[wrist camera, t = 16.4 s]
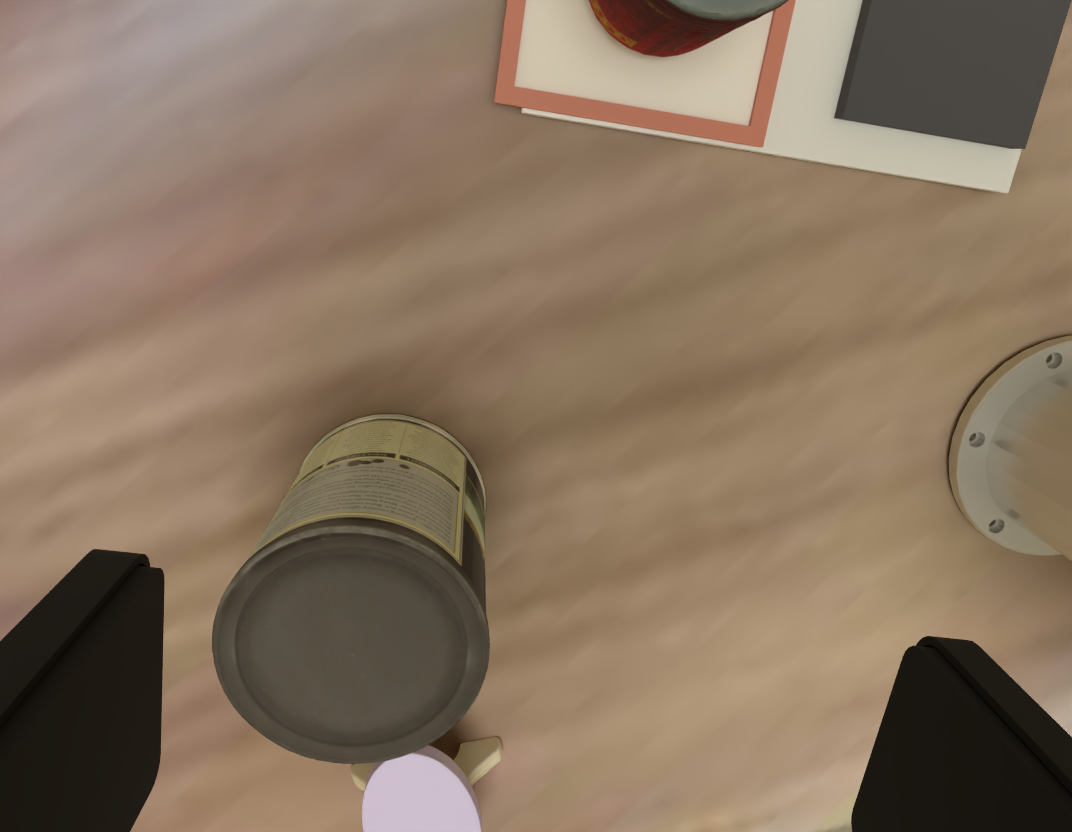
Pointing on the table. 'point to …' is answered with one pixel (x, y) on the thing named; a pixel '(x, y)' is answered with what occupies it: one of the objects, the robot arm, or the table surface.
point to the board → (818, 137)
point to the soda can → (675, 22)
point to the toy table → (426, 789)
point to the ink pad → (952, 67)
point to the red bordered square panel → (641, 73)
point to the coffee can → (363, 598)
